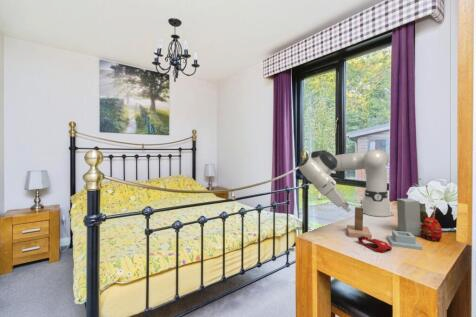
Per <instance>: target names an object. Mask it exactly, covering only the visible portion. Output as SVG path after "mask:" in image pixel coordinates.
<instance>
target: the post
mask: <svg viewBox="0 0 476 317" xmlns="http://www.w3.org/2000/svg"><path fill="white" fill-rule="evenodd" d="M354 225H355V230H359V231H363V226H364V213H363V208H362V207H361V206H359V207H358V206H354Z"/></svg>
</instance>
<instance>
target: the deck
mask: <svg viewBox="0 0 476 317" xmlns="http://www.w3.org/2000/svg"><path fill="white" fill-rule="evenodd" d="M346 231H347V235H348V238H356V239H358V238H357V237H358V236H362V235H365V236H368V237H369V238H368V239H371V240H372V239H373V237H372V236H373V234H372V233H371V230H370V228H369V227H368V226H364V225H363V231H359V230H355V224H352V225H351V224H346Z"/></svg>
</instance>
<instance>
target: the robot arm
mask: <svg viewBox="0 0 476 317" xmlns="http://www.w3.org/2000/svg"><path fill="white" fill-rule="evenodd" d="M389 163H390V155H389V154H388V152H386V151H385V150H381V149H371V150H367V151H366V150H365V151H355V152H349V153H342V154H336V155H333V153H330V151H327V150H325V149H321V148H318V149H315V150H313V151H311V154H310V156H309V157H306V158H304V159H303V160H302V161H301V162H300V163H299V164H298V166H297V167H298V169H299V171H300V173H301V174H302V176H301V178H303V179H304V181H306V183H307V184H308V185H313V187H314V188H315V189H316V190H317V191H318V192H319V193H320V194H321V195H322V196H323V197H326V198H327V199H328V200H329V201H330V202H331V203H332V204H334V205H335V207H336V206H337V207H338V208H341V209H343V210H344V211H345V212H347V213H349V212H351V208H350V207H349V205H350V204H349V203H348V202H347V200H346V199H345V197H344V195H343V193H342V192H341V191H340V190H339V189H338V186H337V185H336V184H337V181H336V180H335V179H334V178H333V177H332V173H331V172H332V171H334V172H345V171H357V170H365V190H364V197H363V198H362V200H361V199H360V205H361V206H360V207H362V208H363V214H364V213H365V215H368V216H372V217H373V216H374V217H389V216H394V213H393V212H391V201H390V199H388V196H389V194H388V190H387V189H388V177H387V165H388V164H389Z"/></svg>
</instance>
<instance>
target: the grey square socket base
mask: <svg viewBox="0 0 476 317" xmlns="http://www.w3.org/2000/svg"><path fill="white" fill-rule="evenodd" d="M386 239H387V241H388V243H389V244H390V246H391V247H395V248H404V249H405V248H406V249H411V250H419V251H420V250H421V251H423V246H422V245H421V244H420V243H419V242H418V241H417V240H416V236H413V235H412V234H411V233H410V232H402V231H399V230H393V229H392V232H391V235H388V234H387V235H386Z"/></svg>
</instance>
